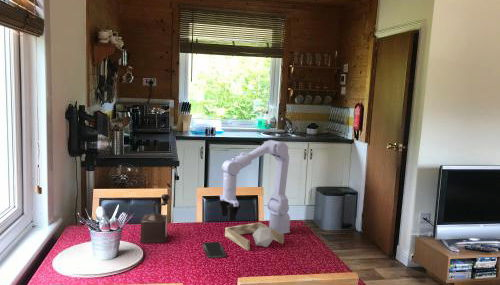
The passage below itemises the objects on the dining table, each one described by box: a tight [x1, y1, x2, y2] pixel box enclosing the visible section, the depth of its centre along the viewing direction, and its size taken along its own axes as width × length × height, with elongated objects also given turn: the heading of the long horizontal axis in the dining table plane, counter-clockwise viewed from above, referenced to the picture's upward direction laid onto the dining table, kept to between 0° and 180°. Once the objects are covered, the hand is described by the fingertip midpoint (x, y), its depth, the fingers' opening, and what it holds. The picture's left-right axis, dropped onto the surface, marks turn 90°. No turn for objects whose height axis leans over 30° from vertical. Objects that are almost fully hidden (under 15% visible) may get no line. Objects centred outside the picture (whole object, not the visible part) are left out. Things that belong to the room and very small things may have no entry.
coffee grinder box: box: [140, 193, 171, 244], centre depth 179 cm, size 16×11×18 cm
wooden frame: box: [224, 222, 285, 251], centre depth 183 cm, size 19×19×4 cm
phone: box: [201, 241, 227, 259], centre depth 168 cm, size 8×1×15 cm
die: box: [252, 226, 274, 248], centre depth 177 cm, size 8×9×10 cm
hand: (228, 218), depth 179 cm, fingers open, 7 cm apart
